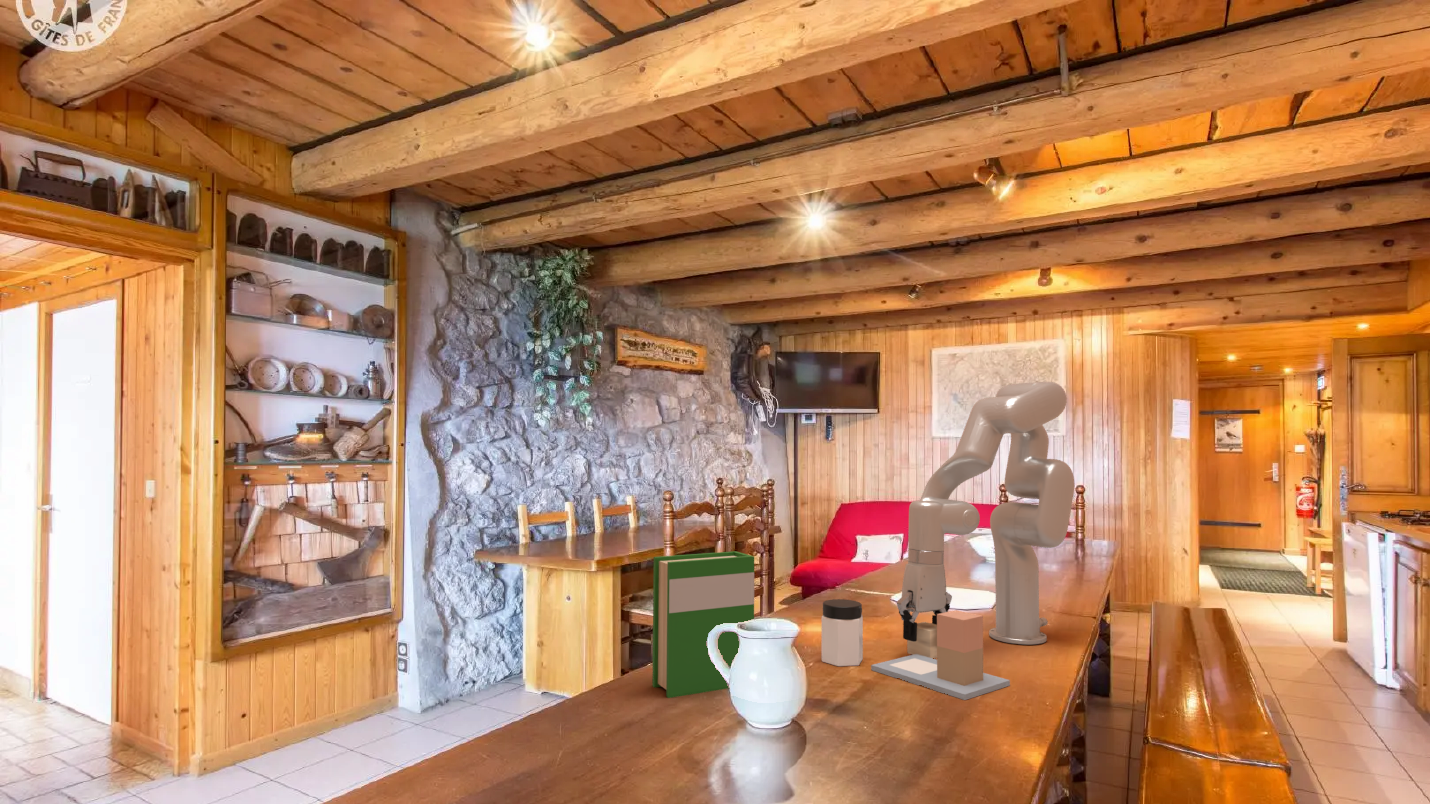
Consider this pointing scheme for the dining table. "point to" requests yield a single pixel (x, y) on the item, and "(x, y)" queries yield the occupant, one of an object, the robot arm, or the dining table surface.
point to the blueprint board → (938, 682)
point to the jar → (842, 632)
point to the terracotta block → (960, 631)
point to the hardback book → (697, 617)
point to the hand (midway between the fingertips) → (924, 637)
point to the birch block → (924, 641)
